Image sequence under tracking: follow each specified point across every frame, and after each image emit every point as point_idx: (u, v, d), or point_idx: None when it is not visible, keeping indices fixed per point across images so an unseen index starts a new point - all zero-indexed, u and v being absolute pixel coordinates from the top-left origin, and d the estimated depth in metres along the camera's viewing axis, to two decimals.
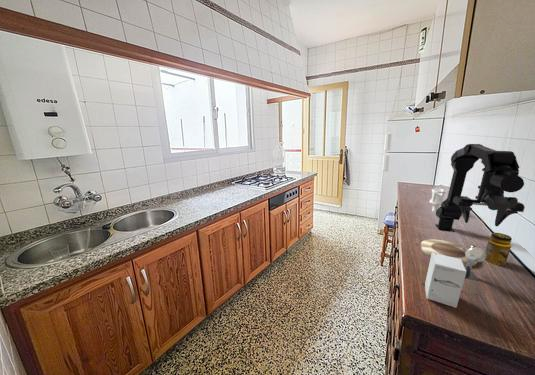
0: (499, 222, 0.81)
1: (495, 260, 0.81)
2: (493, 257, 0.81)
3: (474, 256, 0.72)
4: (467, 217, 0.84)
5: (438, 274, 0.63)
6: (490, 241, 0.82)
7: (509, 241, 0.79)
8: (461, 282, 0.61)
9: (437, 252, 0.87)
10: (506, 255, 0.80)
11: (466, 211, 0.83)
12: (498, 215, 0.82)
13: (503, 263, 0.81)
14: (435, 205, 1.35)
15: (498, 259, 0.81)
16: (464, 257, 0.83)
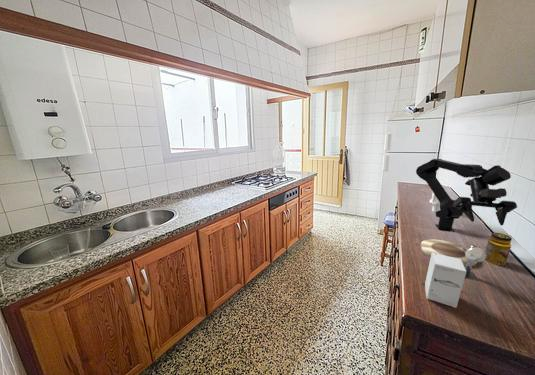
0: (502, 220, 0.86)
1: (495, 260, 0.81)
2: (493, 257, 0.81)
3: (474, 256, 0.72)
4: (471, 215, 0.90)
5: (438, 274, 0.63)
6: (490, 241, 0.82)
7: (509, 241, 0.79)
8: (461, 282, 0.61)
9: (437, 252, 0.87)
10: (506, 255, 0.80)
11: (468, 208, 0.91)
12: (499, 217, 0.89)
13: (503, 263, 0.81)
14: (435, 205, 1.35)
15: (498, 259, 0.81)
16: (464, 257, 0.83)
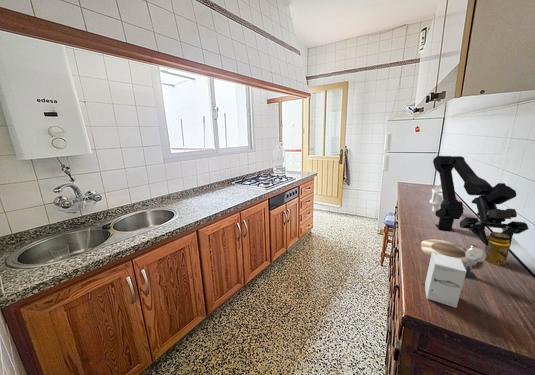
0: (509, 242, 0.81)
1: (494, 259, 0.81)
2: (492, 257, 0.81)
3: (474, 256, 0.72)
4: (485, 237, 0.83)
5: (438, 274, 0.63)
6: (489, 241, 0.82)
7: (507, 240, 0.79)
8: (461, 282, 0.61)
9: (437, 252, 0.87)
10: (505, 254, 0.80)
11: (481, 230, 0.85)
12: None
13: (503, 263, 0.80)
14: (435, 205, 1.35)
15: (498, 258, 0.80)
16: (464, 257, 0.83)
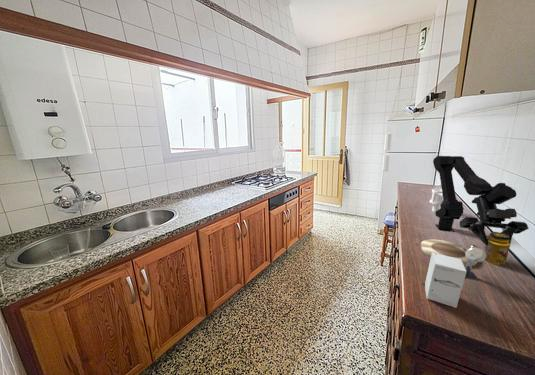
0: None
1: (494, 259, 0.81)
2: (492, 257, 0.81)
3: (474, 256, 0.72)
4: (485, 237, 0.83)
5: (438, 274, 0.63)
6: (488, 240, 0.82)
7: (507, 240, 0.79)
8: (461, 282, 0.61)
9: (437, 252, 0.87)
10: (505, 254, 0.80)
11: (481, 230, 0.85)
12: None
13: (503, 262, 0.80)
14: (435, 205, 1.35)
15: (498, 258, 0.80)
16: (464, 257, 0.83)
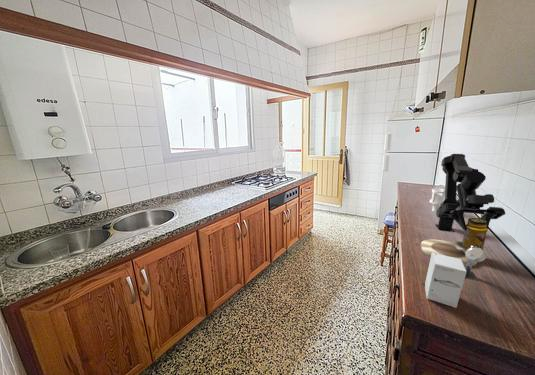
0: (486, 227, 0.82)
1: (472, 244, 0.83)
2: (470, 242, 0.83)
3: (474, 256, 0.72)
4: (463, 222, 0.85)
5: (438, 274, 0.63)
6: (467, 226, 0.84)
7: (484, 225, 0.80)
8: (461, 282, 0.61)
9: (437, 252, 0.87)
10: (483, 239, 0.81)
11: (460, 216, 0.86)
12: None
13: (480, 247, 0.82)
14: (435, 205, 1.35)
15: (476, 243, 0.82)
16: (464, 257, 0.83)
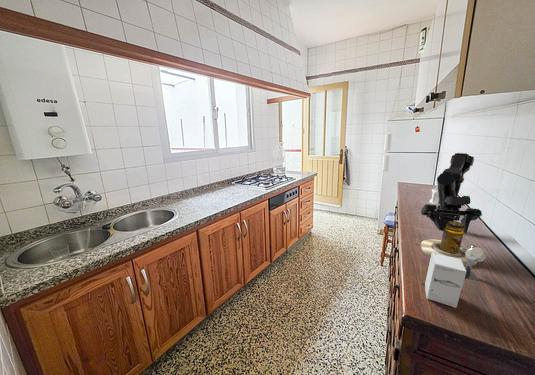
0: (466, 228, 0.85)
1: (449, 246, 0.86)
2: (447, 244, 0.86)
3: (474, 256, 0.72)
4: (439, 223, 0.88)
5: (438, 274, 0.63)
6: (445, 229, 0.87)
7: (461, 228, 0.83)
8: (461, 282, 0.61)
9: (437, 252, 0.87)
10: (459, 242, 0.84)
11: (436, 216, 0.89)
12: (463, 224, 0.87)
13: (456, 250, 0.85)
14: None
15: (452, 245, 0.85)
16: (464, 257, 0.83)
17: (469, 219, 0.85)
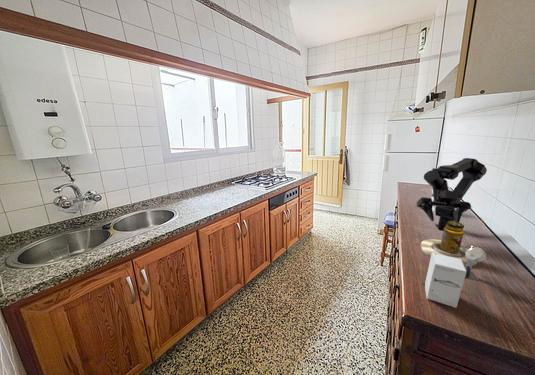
0: (458, 219, 0.93)
1: (449, 246, 0.86)
2: (447, 244, 0.86)
3: (474, 256, 0.72)
4: (432, 214, 0.96)
5: (438, 274, 0.63)
6: (445, 229, 0.87)
7: (461, 228, 0.83)
8: (461, 282, 0.61)
9: (437, 252, 0.87)
10: (459, 242, 0.84)
11: (429, 208, 0.96)
12: (455, 216, 0.95)
13: (456, 250, 0.85)
14: None
15: (452, 245, 0.85)
16: (464, 257, 0.83)
17: (461, 211, 0.93)
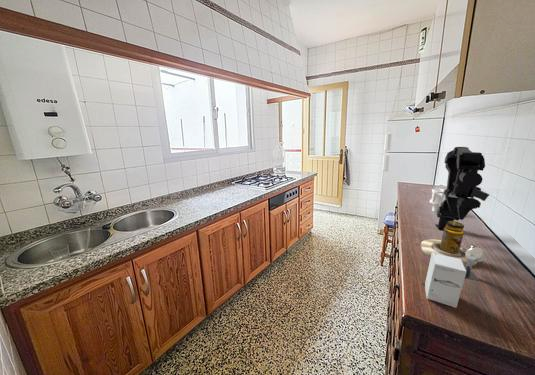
0: None
1: (449, 246, 0.86)
2: (447, 244, 0.86)
3: (474, 256, 0.72)
4: None
5: (438, 274, 0.63)
6: (445, 229, 0.87)
7: (461, 228, 0.83)
8: (461, 282, 0.61)
9: (437, 252, 0.87)
10: (459, 242, 0.84)
11: None
12: (451, 204, 1.00)
13: (456, 250, 0.85)
14: (435, 205, 1.35)
15: (452, 245, 0.85)
16: (464, 257, 0.83)
17: None
